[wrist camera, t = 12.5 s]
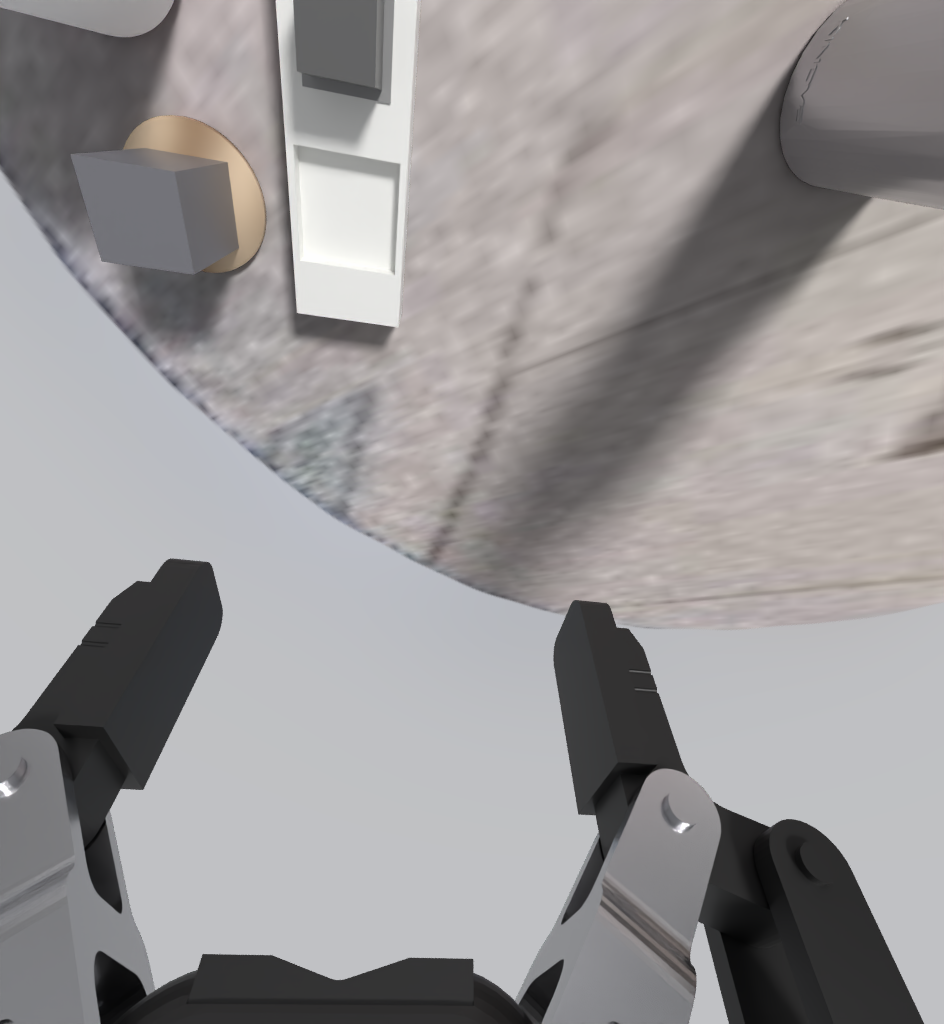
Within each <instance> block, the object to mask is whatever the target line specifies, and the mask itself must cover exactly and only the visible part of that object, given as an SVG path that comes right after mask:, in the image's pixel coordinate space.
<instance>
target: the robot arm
mask: <svg viewBox="0 0 944 1024" xmlns="http://www.w3.org/2000/svg"><path fill="white" fill-rule="evenodd" d="M780 140H781V145H782V150H783V155H784V157H785V160H786V162H787V164H788V166H789V168H790V169H791V171H792V172H793V173H794V174H795V175H796V176H797V177H798V178H799V179H800V180H802V181H804V182H806V183H808V184H810V185H811V186H817V187H822V188H827V189H833V190H838V191H843V192H849V193H854V194H858V195H863V196H869V197H875V198H880V199H886V200H892V201H897V202H903V203H909V204H915V205H920V206H926V207H932V208H937V209H943V210H944V0H847V1H845V2H844V3H843V4H842V5H841V6H840V7H838V8H837V9H836V10H835V11H834V12H833V14H832V15H831V16H830V17H829V18H828V19H827V20H826V21H825V23H824V24H823V25H822V26H821V27H820V28H819V29H818V31H817V32H816V34H815V35H814V37H813V38H812V40H811V41H810V43H809V44H808V46H807V47H806V49H805V50H804V52H803V54H802V56H801V58H800V60H799V62H798V64H797V66H796V68H795V70H794V72H793V74H792V76H791V79H790V82H789V85H788V88H787V91H786V94H785V97H784V102H783V107H782V113H781V118H780ZM222 615H223V610H222V604H221V600H220V596H219V592H218V588H217V585H216V580H215V576H214V572H213V568H212V566H211V564H210V563H209V562H201V561H191V560H181V559H168V560H167V561H166V562H164V564H163V565H162V566H161V568H160V569H159V571H158V572H157V573H156V575H155V576H154V578H153V579H152V581H151V582H142V581H137V582H135V583H134V584H133V585H131V586H130V587H129V588H127V589H126V590H124V591H123V592H122V593H120V594H119V595H118V596H116V597H115V598H113V599H112V600H111V602H110V603H109V605H108V606H107V607H106V609H105V610H104V611H103V613H102V614H101V615H100V617H99V618H98V619H97V621H96V625H95V626H93V627H91V629H90V630H89V631H88V633H87V634H86V636H85V637H84V638H83V640H82V644H81V645H78V646H77V648H76V649H75V650H74V652H73V653H72V654H71V656H70V657H69V658H68V660H67V661H66V663H65V664H64V665H63V666H62V668H61V669H60V670H59V672H58V673H57V674H56V676H55V677H54V678H53V680H52V681H51V683H50V684H49V685H48V687H47V688H46V689H45V691H44V692H43V693H42V695H41V696H40V697H39V699H38V700H37V702H36V703H35V704H34V706H33V707H32V708H31V709H30V711H29V712H28V714H27V715H26V716H25V717H24V719H23V720H22V721H21V722H20V723H19V724H18V726H16V727H15V728H14V729H13V730H12V731H11V732H7V733H4V734H1V735H0V1024H688V1023H689V1020H690V1015H691V1011H692V1007H693V1002H694V998H695V992H696V972H695V969H694V967H693V966H692V964H691V962H690V951H691V946H692V942H693V938H694V934H695V931H696V927H697V923H698V922H700V923H703V924H704V927H705V931H706V935H707V938H708V943H709V946H710V951H711V954H712V958H713V962H714V966H715V970H716V974H717V978H718V982H719V986H720V990H721V994H722V998H723V1002H724V1006H725V1009H726V1013H727V1017H728V1021H729V1024H924V1023H923V1021H922V1018H921V1016H920V1014H919V1012H918V1010H917V1008H916V1006H915V1003H914V1002H913V999H912V997H911V995H910V993H909V991H908V989H907V987H906V985H905V982H904V980H903V978H902V976H901V974H900V972H899V970H898V968H897V965H896V963H895V961H894V959H893V957H892V955H891V953H890V951H889V948H888V946H887V944H886V942H885V940H884V938H883V936H882V934H881V932H880V929H879V927H878V925H877V923H876V921H875V919H874V917H873V915H872V913H871V911H870V908H869V906H868V904H867V902H866V900H865V898H864V896H863V894H862V891H861V889H860V887H859V885H858V883H857V881H856V879H855V877H854V875H853V872H852V870H851V868H850V867H849V865H848V863H847V861H846V860H845V858H844V857H843V855H842V854H841V852H840V851H839V850H838V849H837V847H836V846H835V845H834V844H833V843H832V842H831V841H830V840H829V839H828V838H827V837H826V836H825V835H823V834H822V833H821V832H820V831H818V830H817V829H815V828H814V827H812V826H810V825H808V824H807V823H804V822H801V821H798V820H792V819H786V820H782V821H780V822H778V823H776V824H775V825H773V826H772V827H768V826H765V825H763V824H761V823H758V822H756V821H754V820H751V819H749V818H746V817H744V816H742V815H739V814H737V813H734V812H732V811H730V810H727V809H725V808H723V807H721V806H719V805H718V804H716V803H715V802H713V801H712V799H711V798H710V796H709V795H708V794H707V792H706V791H705V790H704V788H703V787H702V786H701V785H699V784H698V782H696V781H695V780H694V779H692V778H691V777H689V775H688V774H687V772H686V770H685V768H684V766H683V763H682V761H681V758H680V755H679V752H678V749H677V746H676V743H675V740H674V737H673V734H672V731H671V729H670V725H669V723H668V720H667V717H666V714H665V711H664V708H663V705H662V702H661V699H660V696H659V694H658V693H657V687H656V684H655V681H654V678H653V676H652V675H651V670H650V667H649V664H648V661H647V658H646V655H645V652H644V649H643V647H642V646H641V645H640V643H639V642H638V641H637V640H636V638H635V637H634V636H633V634H632V633H631V632H630V630H629V629H626V628H616V624H615V621H614V618H613V614H612V611H611V608H610V606H609V605H608V604H607V603H599V602H589V601H579V600H574V601H573V602H572V604H571V606H570V608H569V610H568V613H567V615H566V617H565V620H564V622H563V624H562V627H561V629H560V631H559V634H558V636H557V638H556V642H555V646H554V668H555V674H556V680H557V686H558V692H559V698H560V704H561V711H562V717H563V723H564V729H565V735H566V741H567V747H568V753H569V760H570V766H571V772H572V777H573V784H574V790H575V796H576V802H577V808H578V814H581V815H596V819H597V825H598V830H599V833H598V834H597V836H596V838H595V840H594V842H593V845H592V846H591V849H590V851H589V853H588V855H587V857H586V859H585V861H584V864H583V866H582V868H581V870H580V872H579V875H578V877H577V879H576V881H575V883H574V885H573V888H572V890H571V892H570V894H569V896H568V898H567V900H566V902H565V904H564V907H563V909H562V911H561V913H560V915H559V917H558V919H557V921H556V924H555V925H554V927H553V929H552V931H551V933H550V934H549V936H548V937H547V939H546V940H545V942H544V944H543V945H542V947H541V949H540V951H539V952H538V954H537V956H536V958H535V960H534V962H533V964H532V966H531V968H530V970H529V972H528V974H527V976H526V978H525V980H524V983H523V985H522V987H521V989H520V991H519V993H518V995H517V997H516V1000H515V1001H514V1000H513V999H512V998H511V997H510V996H509V995H508V994H507V993H505V992H504V991H503V990H502V989H501V988H499V987H498V986H497V985H495V984H494V983H492V982H490V981H489V980H487V979H485V978H484V977H482V976H479V975H477V974H475V973H473V959H446V958H408V959H405V960H402V961H399V962H396V963H393V964H390V965H387V966H384V967H381V968H378V969H375V970H372V971H369V972H366V973H363V974H360V975H357V976H354V977H351V978H348V979H345V980H333V979H330V978H328V977H325V976H323V975H320V974H317V973H315V972H312V971H310V970H307V969H305V968H302V967H300V966H297V965H295V964H292V963H290V962H287V961H285V960H282V959H280V958H277V957H275V956H272V955H218V954H217V955H215V954H203V955H202V958H201V962H200V965H199V968H198V970H196V971H193V972H190V973H187V974H185V975H183V976H181V977H179V978H177V979H175V980H173V981H170V982H168V983H167V984H165V985H163V986H162V987H160V988H158V989H157V990H155V987H154V983H153V978H152V973H151V969H150V965H149V960H148V956H147V953H146V949H145V946H144V943H143V940H142V937H141V935H140V932H139V930H138V928H137V926H136V924H135V922H134V919H133V916H132V912H131V908H130V904H129V899H128V895H127V890H126V885H125V880H124V876H123V870H122V865H121V861H120V856H119V851H118V846H117V841H116V837H115V832H114V827H113V822H112V817H111V813H110V811H109V810H110V808H111V806H112V804H113V802H114V801H115V799H116V797H117V795H118V793H119V791H120V789H136V790H143V789H144V787H145V785H146V783H147V780H148V779H149V777H150V774H151V772H152V770H153V768H154V766H155V764H156V762H157V760H158V758H159V756H160V754H161V752H162V750H163V747H164V746H165V743H166V741H167V739H168V737H169V735H170V733H171V731H172V729H173V727H174V725H175V723H176V721H177V719H178V717H179V715H180V712H181V710H182V708H183V706H184V704H185V702H186V700H187V698H188V696H189V694H190V692H191V690H192V687H193V686H194V683H195V681H196V679H197V677H198V675H199V673H200V671H201V669H202V667H203V665H204V663H205V661H206V659H207V657H208V655H209V653H210V650H211V648H212V646H213V644H214V642H215V640H216V638H217V636H218V634H219V631H220V627H221V623H222Z"/></svg>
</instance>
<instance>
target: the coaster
mask: <svg viewBox="0 0 944 1024" xmlns="http://www.w3.org/2000/svg"><path fill="white" fill-rule="evenodd" d="M137 148H149V149H154V150H160V151H166V152H172V153H177V154H183V155H189V156H195V157H200V158H206V159H212V160H218V161H223V162H228V168H229V176H230V183H231V191H232V199H233V206H234V214H235V221H236V229H237V236H238V244H239V248H238V249H237V250H235V251H233V252H232V253H230V254H228V255H226V256H225V257H223V258H221V259H220V260H218V261H216V262H215V263H213V264H211V265H210V266H208V267H206V268H205V269H203V270H201V271H204V272H211V273H221V272H227V271H231V270H234V269H236V268H238V267H240V266H242V265H244V264H245V263H246V262H248V261H249V260H250V259H251V258H252V257H253V256H254V255H255V254H256V252H257V251H258V249H259V247H260V246H261V243H262V241H263V238H264V234H265V230H266V207H265V201H264V197H263V193H262V190H261V187H260V185H259V182H258V180H257V178H256V176H255V174H254V172H253V170H252V168H251V167H250V165H249V163H248V162H247V160H246V159H245V158H244V156H243V155H242V154H241V152H240V151H239V150H238V149H237V148H236V147H235V146H234V145H233V144H232V143H231V142H230V141H229V140H228V139H227V138H226V137H225V136H224V135H222V134H221V133H219V132H218V131H217V130H215V129H214V128H212V127H210V126H208V125H207V124H205V123H202V122H200V121H198V120H195V119H192V118H188V117H183V116H173V115H169V116H158V117H154V118H151V119H149V120H146V121H144V122H143V123H141V124H140V125H139V126H137V127H136V128H135V129H134V130H133V132H132V133H131V134H130V136H129V137H128V139H127V141H126V143H125V146H124V148H123V150H125V149H137Z"/></svg>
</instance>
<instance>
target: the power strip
mask: <svg viewBox="0 0 944 1024" xmlns="http://www.w3.org/2000/svg"><path fill="white" fill-rule="evenodd" d="M420 8H421V0H276V12H277V27H278V41H279V56H280V71H281V85H282V100H283V114H284V129H285V144H286V158H287V173H288V187H289V202H290V216H291V231H292V246H293V260H294V275H295V289H296V304H297V313H301V314H308V315H315V316H322V317H329V318H336V319H343V320H350V321H357V322H364V323H371V324H378V325H385V326H392V327H399V323H400V319H401V315H402V302H403V286H404V269H405V253H406V237H407V220H408V204H409V188H410V171H411V155H412V139H413V122H414V106H415V90H416V74H417V57H418V41H419V25H420Z"/></svg>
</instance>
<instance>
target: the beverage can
mask: <svg viewBox="0 0 944 1024" xmlns="http://www.w3.org/2000/svg"><path fill="white" fill-rule="evenodd" d="M173 2H174V0H0V7H1V8H4V9H8V10H12V11H16V12H20V13H24V14H28V15H32V16H36V17H39V18H43V19H47V20H51V21H55V22H59V23H63V24H67V25H71V26H74V27H78V28H82V29H86V30H90V31H94V32H98V33H102V34H106V35H110V36H116V37H134V36H139V35H142V34H144V33H147V32H149V31H150V30H152V29H153V28H155V27H156V26H157V25H158V24H160V23H161V21H162V20H163V19H164V18H165V17H166V15H167V14H168V12H169V10H170V8H171V6H172V4H173Z"/></svg>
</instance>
